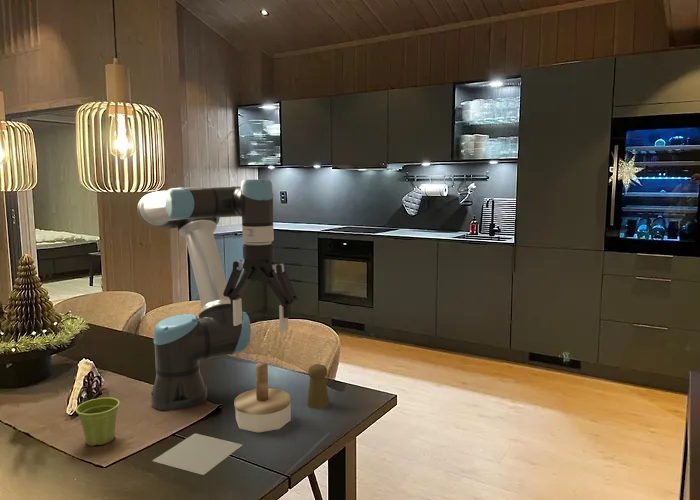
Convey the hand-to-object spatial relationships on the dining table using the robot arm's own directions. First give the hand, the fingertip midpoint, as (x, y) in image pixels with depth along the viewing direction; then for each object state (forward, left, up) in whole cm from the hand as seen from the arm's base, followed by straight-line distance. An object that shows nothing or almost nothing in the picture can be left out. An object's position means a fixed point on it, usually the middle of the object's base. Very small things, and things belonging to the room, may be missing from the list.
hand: (260, 327), depth 135 cm
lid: (0, 0, -20) cm, 20 cm away
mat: (-4, -20, -25) cm, 32 cm away
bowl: (0, 0, -25) cm, 25 cm away
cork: (+8, +15, -25) cm, 30 cm away
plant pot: (-30, -24, -25) cm, 46 cm away
